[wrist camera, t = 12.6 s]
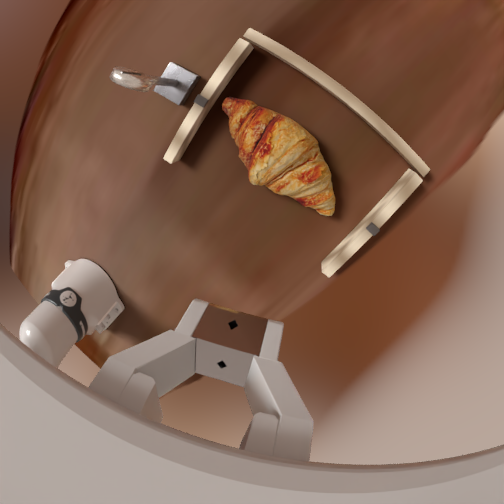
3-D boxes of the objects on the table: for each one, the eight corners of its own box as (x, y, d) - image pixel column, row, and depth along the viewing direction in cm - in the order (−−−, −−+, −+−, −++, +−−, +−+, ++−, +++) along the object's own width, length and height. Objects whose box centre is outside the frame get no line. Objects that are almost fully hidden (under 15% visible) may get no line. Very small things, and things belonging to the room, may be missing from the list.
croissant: (343, 190, 40) (372, 189, 32) (300, 237, 40) (322, 245, 32) (246, 89, 35) (256, 65, 27) (195, 133, 35) (193, 116, 27)
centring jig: (328, 267, 43) (329, 279, 40) (172, 154, 39) (161, 158, 36) (423, 166, 32) (433, 171, 29) (252, 32, 28) (247, 25, 25)
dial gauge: (183, 105, 35) (123, 108, 22) (158, 90, 34) (94, 90, 21) (201, 76, 32) (146, 64, 20) (174, 63, 31) (113, 49, 19)
